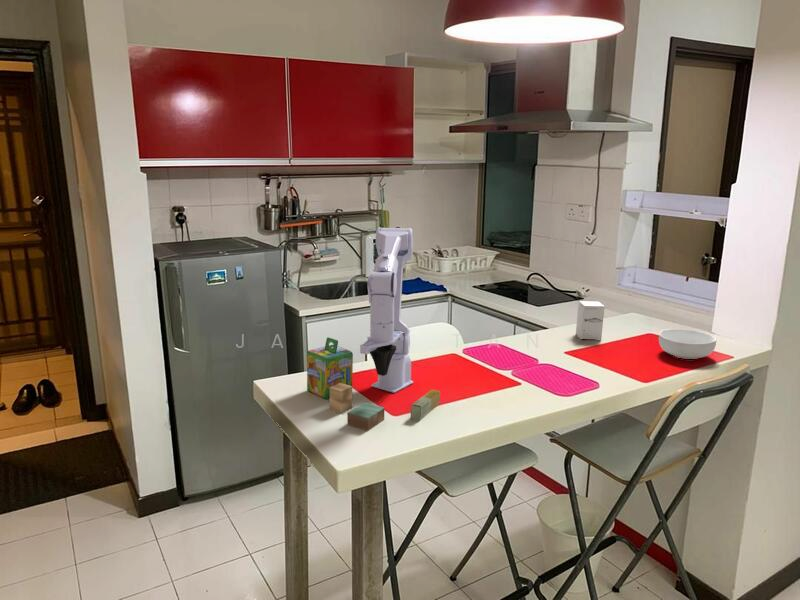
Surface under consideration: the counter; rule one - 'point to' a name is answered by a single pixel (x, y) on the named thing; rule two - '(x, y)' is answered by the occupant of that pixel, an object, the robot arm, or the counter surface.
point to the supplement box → (590, 320)
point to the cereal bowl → (687, 343)
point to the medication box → (425, 405)
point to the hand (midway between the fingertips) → (382, 374)
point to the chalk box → (328, 368)
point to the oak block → (340, 398)
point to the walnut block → (365, 416)
